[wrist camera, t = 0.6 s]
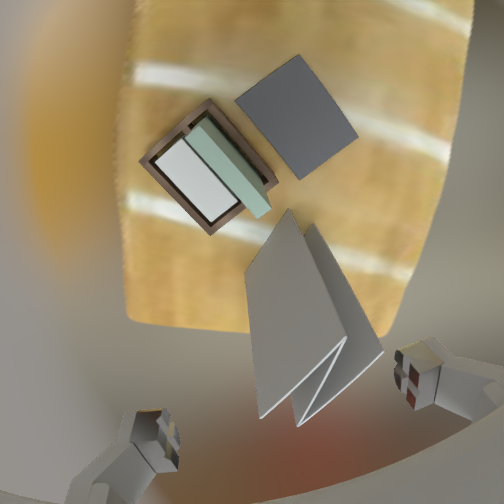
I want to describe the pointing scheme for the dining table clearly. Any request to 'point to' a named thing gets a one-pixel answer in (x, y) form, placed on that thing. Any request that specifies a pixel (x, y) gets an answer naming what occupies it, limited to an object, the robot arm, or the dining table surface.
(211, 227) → the rack
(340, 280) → the brochure
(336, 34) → the dining table surface
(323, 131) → the mat
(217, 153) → the block
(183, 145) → the offcut upper
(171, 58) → the dining table surface
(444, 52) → the dining table surface
